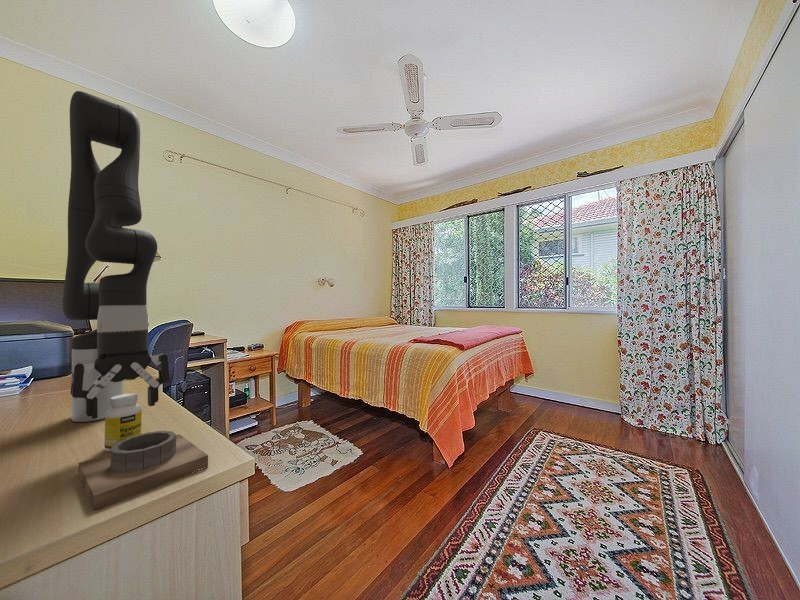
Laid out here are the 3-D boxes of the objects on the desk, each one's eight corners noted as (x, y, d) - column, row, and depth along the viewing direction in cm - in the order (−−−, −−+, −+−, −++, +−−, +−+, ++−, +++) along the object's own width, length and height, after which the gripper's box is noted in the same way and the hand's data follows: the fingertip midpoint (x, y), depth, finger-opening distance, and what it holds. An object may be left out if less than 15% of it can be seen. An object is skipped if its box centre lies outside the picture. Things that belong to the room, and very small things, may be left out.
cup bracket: (78, 475, 51) (78, 444, 51) (179, 444, 62) (179, 419, 62) (93, 510, 42) (93, 473, 42) (208, 466, 53) (208, 437, 53)
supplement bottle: (119, 454, 58) (119, 401, 58) (96, 451, 59) (97, 399, 59) (148, 441, 63) (148, 393, 63) (127, 439, 64) (127, 391, 64)
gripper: (161, 326, 69) (162, 399, 69) (68, 330, 58) (68, 418, 58) (173, 326, 64) (173, 405, 64) (74, 332, 53) (74, 427, 53)
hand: (124, 411), depth 61 cm, fingers open, 8 cm apart
